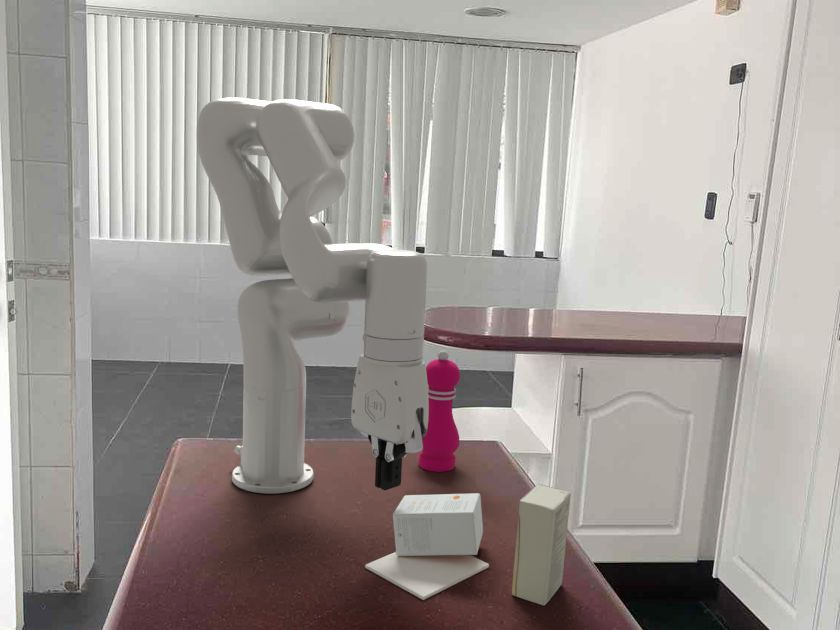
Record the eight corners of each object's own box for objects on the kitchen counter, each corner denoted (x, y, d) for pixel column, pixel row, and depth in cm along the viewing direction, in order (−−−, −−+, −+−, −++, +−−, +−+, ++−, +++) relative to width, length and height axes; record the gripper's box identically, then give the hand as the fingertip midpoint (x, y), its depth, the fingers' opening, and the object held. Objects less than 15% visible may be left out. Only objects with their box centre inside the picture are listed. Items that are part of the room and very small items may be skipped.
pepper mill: (410, 459, 136) (416, 346, 133) (449, 456, 139) (456, 345, 135) (422, 474, 130) (429, 355, 126) (464, 471, 132) (471, 354, 128)
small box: (394, 556, 100) (477, 556, 98) (391, 513, 100) (474, 512, 98) (407, 534, 108) (484, 533, 106) (404, 494, 108) (481, 492, 106)
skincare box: (529, 574, 98) (537, 482, 96) (563, 585, 96) (572, 490, 94) (510, 596, 93) (517, 499, 91) (545, 608, 91) (554, 508, 89)
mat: (365, 567, 98) (365, 564, 98) (431, 539, 107) (431, 536, 107) (423, 600, 91) (423, 596, 91) (488, 567, 100) (489, 564, 100)
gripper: (332, 341, 102) (328, 476, 105) (415, 363, 92) (408, 512, 95) (375, 335, 107) (370, 464, 110) (457, 355, 97) (449, 496, 100)
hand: (387, 486), depth 103 cm, fingers closed
